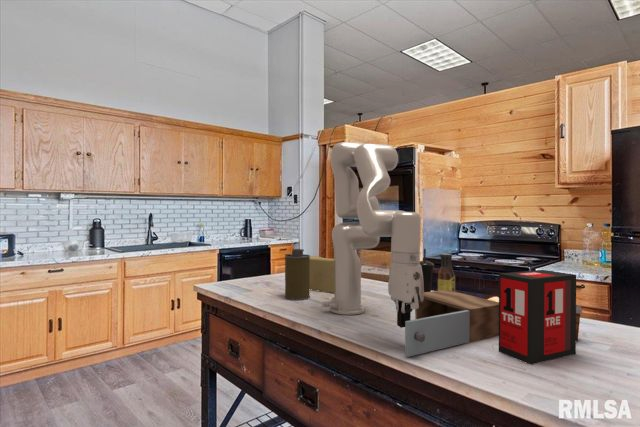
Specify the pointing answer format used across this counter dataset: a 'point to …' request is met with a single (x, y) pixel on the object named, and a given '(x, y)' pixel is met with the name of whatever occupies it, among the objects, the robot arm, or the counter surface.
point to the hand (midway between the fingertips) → (403, 325)
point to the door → (436, 332)
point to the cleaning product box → (537, 315)
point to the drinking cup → (427, 273)
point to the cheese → (321, 274)
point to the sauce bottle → (446, 274)
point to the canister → (297, 275)
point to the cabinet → (481, 310)
